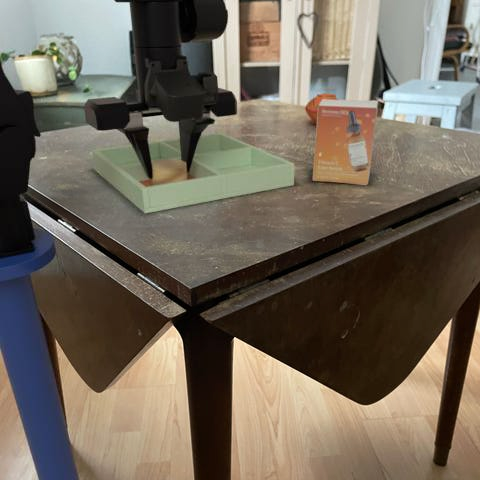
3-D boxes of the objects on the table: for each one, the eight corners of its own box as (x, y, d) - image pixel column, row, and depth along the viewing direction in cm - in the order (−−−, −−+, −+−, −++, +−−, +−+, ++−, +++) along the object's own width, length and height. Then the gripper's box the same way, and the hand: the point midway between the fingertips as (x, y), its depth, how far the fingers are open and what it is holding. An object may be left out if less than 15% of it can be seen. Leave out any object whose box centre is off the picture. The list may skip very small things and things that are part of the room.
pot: (294, 125, 109) (300, 89, 107) (319, 128, 114) (325, 94, 112) (323, 129, 104) (331, 92, 101) (348, 133, 109) (356, 97, 107)
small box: (311, 182, 78) (316, 104, 72) (316, 171, 82) (321, 97, 77) (368, 185, 76) (377, 106, 71) (370, 174, 81) (378, 99, 75)
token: (159, 194, 71) (157, 171, 69) (145, 184, 75) (143, 162, 73) (193, 188, 73) (192, 165, 71) (179, 178, 77) (177, 157, 75)
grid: (144, 213, 68) (142, 189, 66) (94, 170, 84) (91, 150, 83) (294, 185, 77) (295, 163, 75) (221, 151, 93) (221, 132, 92)
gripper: (101, 56, 55) (120, 204, 63) (259, 46, 63) (258, 179, 71) (73, 48, 63) (93, 180, 71) (215, 40, 71) (219, 160, 79)
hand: (168, 175), depth 73 cm, fingers closed on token, 5 cm apart
